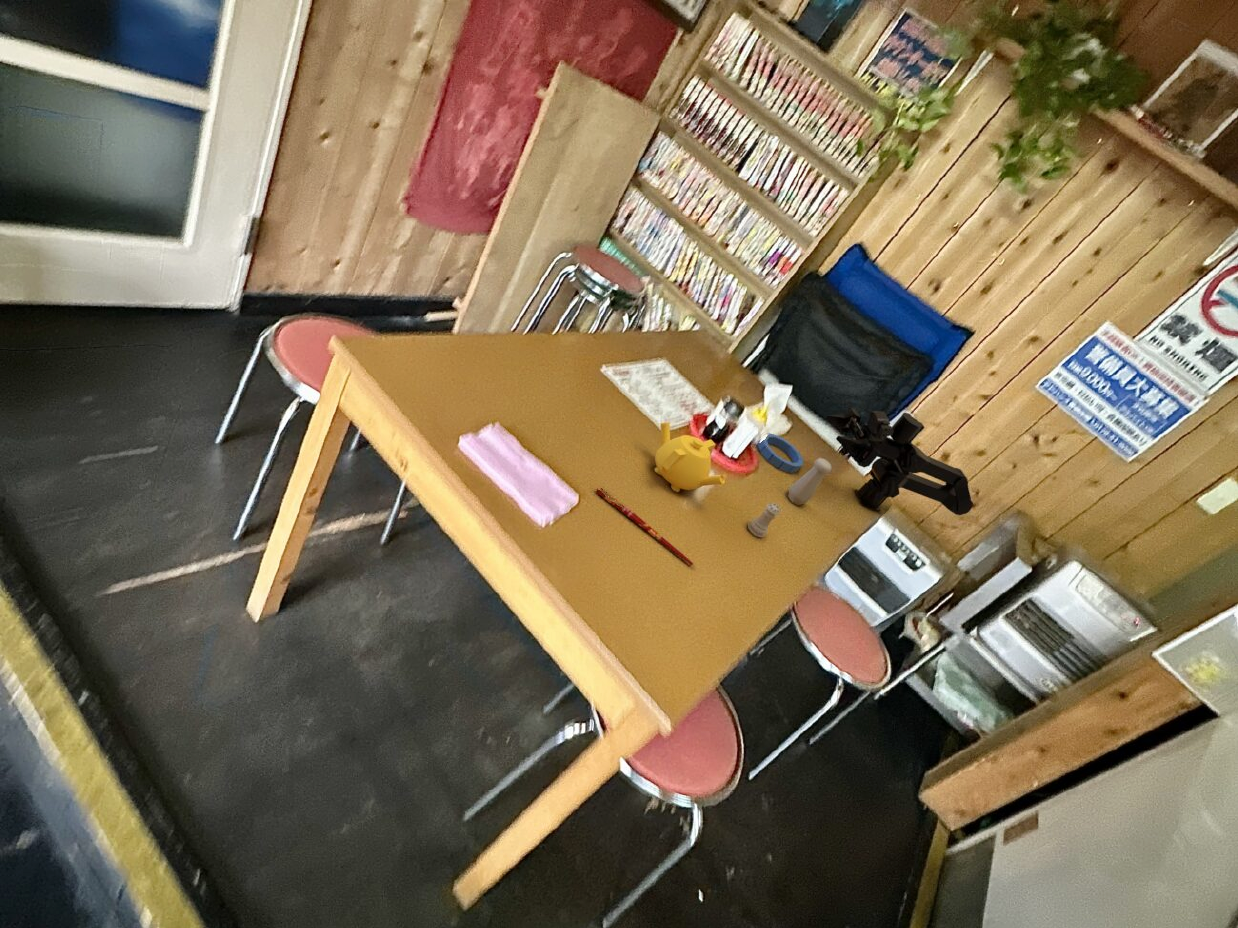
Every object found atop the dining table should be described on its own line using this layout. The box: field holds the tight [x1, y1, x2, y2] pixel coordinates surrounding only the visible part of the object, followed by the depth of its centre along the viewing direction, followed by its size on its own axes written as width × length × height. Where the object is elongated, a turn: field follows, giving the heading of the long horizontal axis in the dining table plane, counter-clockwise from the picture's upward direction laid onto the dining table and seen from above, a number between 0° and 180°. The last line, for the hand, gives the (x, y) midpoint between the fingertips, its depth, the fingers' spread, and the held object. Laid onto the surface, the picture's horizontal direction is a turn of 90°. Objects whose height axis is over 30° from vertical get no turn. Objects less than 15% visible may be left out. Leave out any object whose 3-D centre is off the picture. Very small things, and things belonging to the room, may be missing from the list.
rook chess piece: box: [747, 502, 781, 538], centre depth 166 cm, size 4×4×8 cm
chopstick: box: [595, 488, 694, 566], centre depth 148 cm, size 2×24×1 cm, turn 61°
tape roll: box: [757, 433, 804, 474], centre depth 202 cm, size 13×13×2 cm
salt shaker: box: [787, 457, 833, 506], centre depth 185 cm, size 6×6×13 cm
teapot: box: [654, 422, 726, 493], centre depth 165 cm, size 20×18×11 cm
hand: (831, 426), depth 191 cm, fingers open, 9 cm apart
